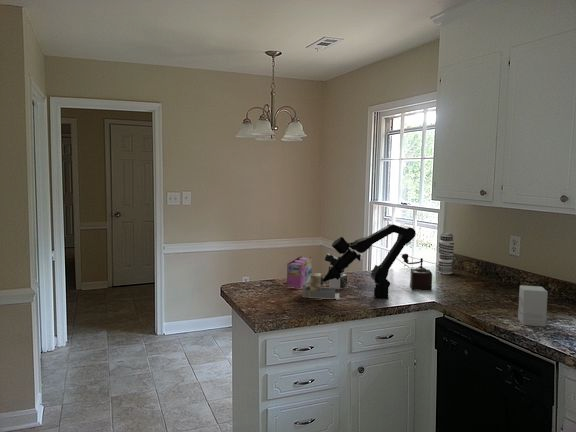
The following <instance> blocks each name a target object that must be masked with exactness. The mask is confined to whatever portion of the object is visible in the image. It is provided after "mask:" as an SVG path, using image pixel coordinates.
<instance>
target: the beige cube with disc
mask: <svg viewBox="0 0 576 432" xmlns="http://www.w3.org/2000/svg"><path fill="white" fill-rule="evenodd" d="M323 279H324V277H323V276H322V273H320V272H319V273H318V272H312V273H311V278H310V282H309V283H310V284H309V285H310V286H309V287H310V290H311V291H321V287H322V286H323V284H324V283H323V281H322V280H323Z"/></svg>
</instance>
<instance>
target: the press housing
mask: <svg viewBox="0 0 576 432" xmlns="http://www.w3.org/2000/svg"><path fill="white" fill-rule="evenodd" d="M336 290H337V289H336V288H331V287H329V286H327V287H325V286H321V291H311V290H310V286H308V284H307V281H304V283H303V288H302V294H301V295H302V296H301V297H309V298H321V299H320V300H322V299H336V300H335V301H340V293H339V292H338V293H337V292H336Z"/></svg>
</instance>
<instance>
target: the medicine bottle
mask: <svg viewBox="0 0 576 432" xmlns="http://www.w3.org/2000/svg"><path fill="white" fill-rule="evenodd" d="M328 281H329V282H328V284H329V285H328V287H332V288H336V290H339V289H341V290H343V289H346V288H348V274H345V269H344V270H343V271H342V273H341V277H340V278H339V279H338V280H337V279H336V278H334V279H331V280H328Z"/></svg>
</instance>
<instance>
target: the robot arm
mask: <svg viewBox="0 0 576 432" xmlns="http://www.w3.org/2000/svg"><path fill="white" fill-rule="evenodd" d="M393 233H394V234H397V239H396V241H395V242H394V244H393V245H392V247H391V249H390V250H389V251H388V253H387V255H386V256H385V258H384V259H383V261H382V262H381V263H380V264H379V265H377V264H375V265H374V266H373V268H372V270H371V271H370V272H371V273H370V277H371V279H372V281H374V287H373V296H374V298H375V299H379V300H380V299H382V300H385V299H386V300H389V287H390V286H391V282H390V281H389V279H387V278H388V276H389V271H390V268H391V267H392V265H393V264H394V262H395V261H396V259H398V256H399V255H400V253H401V252H402V250H403V249H404V247H405V246H406V245H407V244H409V243H411V241H412V240H413V239H414V238H415V237H416V235H417V233H416V230H415V229H414V228H413V227H411V226H407V225H406V226H399V225H396V224H394V223H389V224H387V225H385V226H384V227H383V228H380V229H379V230H377V231H375V232H373V233H372V234H370V235H368V236H365V237H362V238H361V237H360V238H358V239H356V240H354V241H353V242H347V240H345V238H344V237H343V236H339V238H337V239H336V240H334V241H333V242H332V244H331V247H332V248H333V249H335V251H336V252H337V254H339V255H341V256H338V257H337V256H335V255H333V254H331V253H326V255H325V258H324V261H326V262H329V265H330V266H328V272H327V273H326V274H325V276H324V277H323V280H322V281H323V282H327V281H329V280H331V279H334V278H336V279H337V280H338V279H339V278H340V277H341V273H342V271H343V270H344V271H345V270H346V269H348V267H349V266H351V264H352V263H353V262H354V261H355V260H356V259H357V260H358V261H359V262H360V261H361V257H362V255H361V254H364V253H365V252H366V251H368V250H369V249H370V248H371V247H372V246H373V245H374V244H375V243H377V242H379V241H381V240H382V239H384V238H385V237H387V236H388V237H389V236H390V235H391V234H393Z"/></svg>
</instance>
